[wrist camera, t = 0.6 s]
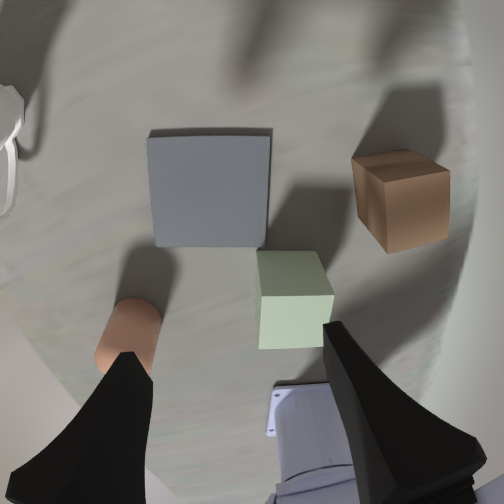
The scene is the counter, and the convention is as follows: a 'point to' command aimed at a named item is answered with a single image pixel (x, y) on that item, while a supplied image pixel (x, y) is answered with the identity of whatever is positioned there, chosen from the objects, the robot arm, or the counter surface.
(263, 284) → the sage block
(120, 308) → the terracotta cylinder
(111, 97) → the counter surface
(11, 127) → the cup
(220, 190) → the slate coaster
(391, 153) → the walnut block
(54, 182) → the counter surface
